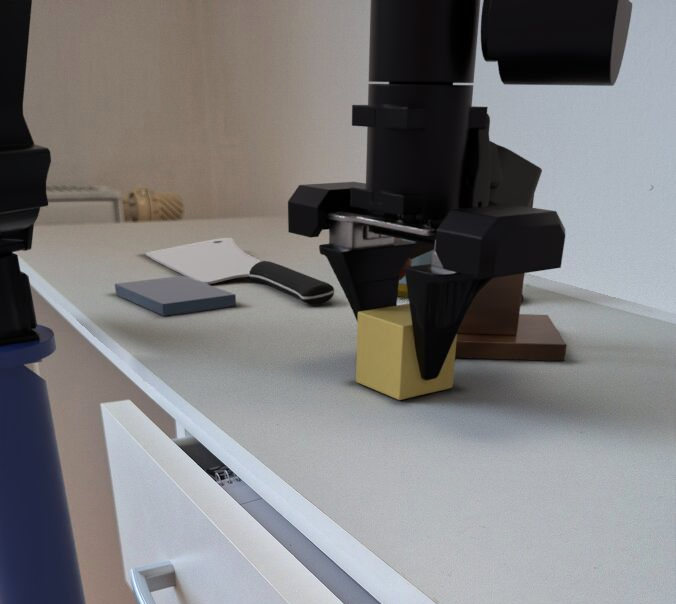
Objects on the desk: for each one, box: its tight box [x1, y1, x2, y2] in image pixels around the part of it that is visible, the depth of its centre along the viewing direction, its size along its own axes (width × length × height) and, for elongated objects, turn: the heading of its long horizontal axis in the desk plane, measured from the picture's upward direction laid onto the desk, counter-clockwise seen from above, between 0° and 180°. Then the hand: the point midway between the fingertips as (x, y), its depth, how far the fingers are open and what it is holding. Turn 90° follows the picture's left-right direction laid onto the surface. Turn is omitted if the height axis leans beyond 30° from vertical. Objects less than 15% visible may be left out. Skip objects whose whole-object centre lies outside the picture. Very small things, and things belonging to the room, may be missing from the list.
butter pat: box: [355, 303, 457, 401], centre depth 52 cm, size 4×4×4 cm
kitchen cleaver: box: [145, 237, 335, 307], centre depth 84 cm, size 31×2×10 cm
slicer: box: [455, 195, 568, 362], centre depth 60 cm, size 11×9×11 cm
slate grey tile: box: [114, 275, 237, 317], centre depth 74 cm, size 7×10×1 cm
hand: (405, 369), depth 53 cm, fingers closed on butter pat, 4 cm apart
